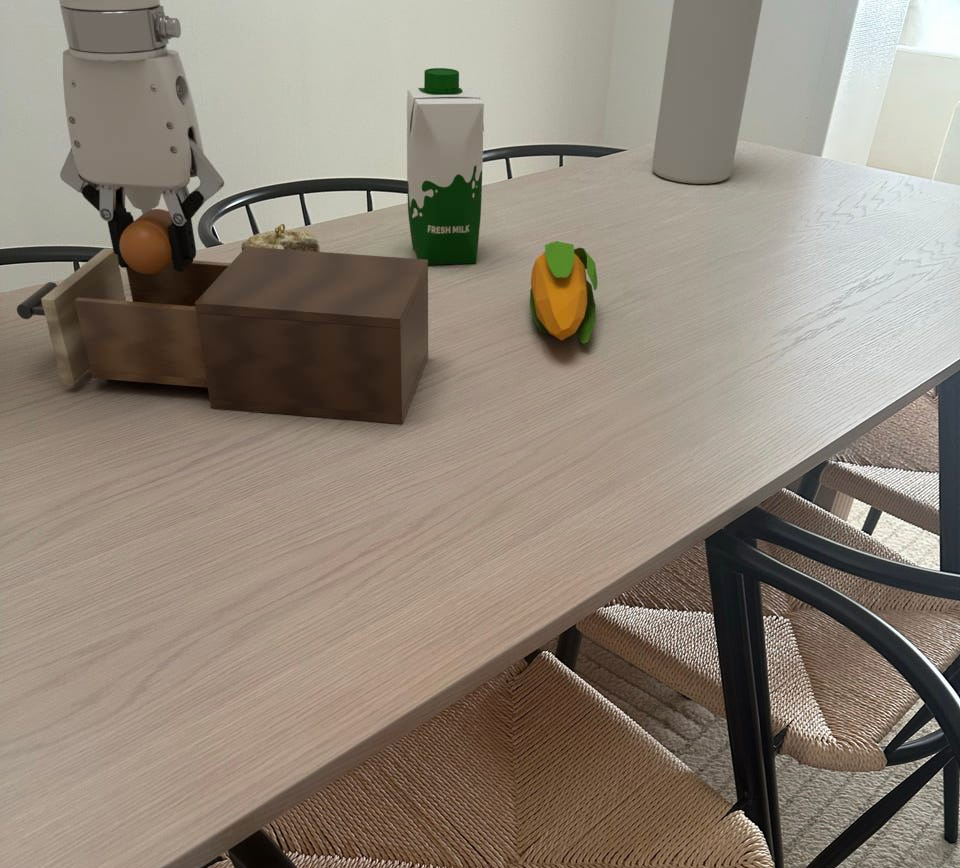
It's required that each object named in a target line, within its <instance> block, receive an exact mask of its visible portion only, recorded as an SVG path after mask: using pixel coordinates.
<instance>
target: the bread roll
mask: <svg viewBox="0 0 960 868" xmlns="http://www.w3.org/2000/svg"><path fill="white" fill-rule="evenodd" d="M170 224H172V222H171V216H170V213H169V211H168V210H167V209H162V208H153V209H152V210H149V211H147V212H145V213H144V214H143V213H142V214H141V215H140V216H139V217H137V218H136V219H135V220H134V222H132V223H131V224H130V225H129V226H127V227H126V229H125V230H124V231H123V233H122V235H121V238H120V244H119V246H120V251H121V255H122V257H123V259H124V261H125V262H126V263H127V265H128V266H129V267H131V268H132V269H133V270H135V271H137V272H139V273H142V274H155V273H158V272H160V271H162V270H163V269H164V268H166V267H167V266H168V265H169V264H170V263H171V262H172V261H173V259H172V251H171V246H170V241H169V236H168V226H169V225H170Z"/></svg>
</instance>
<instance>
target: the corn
mask: <svg viewBox="0 0 960 868" xmlns="http://www.w3.org/2000/svg"><path fill="white" fill-rule="evenodd" d="M534 261H535V262H534V263H533V265H532V266H533V267H532V269H531V277H530V290H529V291H530V292H529V307H530V312H531V313H530V314H531V316H532V319H533V321H534V323H535V325H536V327H537V328H538V329H539V330H540V331H541V332H542V333H544V334H550V335H552V336H553V337H555V338H557V339H558V340H559V341H563V340H565V339H567V338H569V337H571V336H573V335H574V334H575V333H576V332H577V335H578V338H579V341H580V342H581V343H582V344H587V343H588V342H589V340H590V338H591V335H592V332H593V329H594V326H595V324H596V302H595V296H594V291H596V290H597V289H598V275H597V268H596V262H595V260H594V259H593V258H592V256H590V254H589V253H588V251H586V249H585V248H583V247H577V248H575V245H574V244H573V243H567V242H562V241H557V240H556V241H552V242H550V243H547V244H544V252H543V253H541V254H540V255H539V256H538V257H537V258H536V259H535V260H534ZM587 276H588V277H589V278H588V279H589V280H590V282H591V283H590V282H589V280H588V279H587Z"/></svg>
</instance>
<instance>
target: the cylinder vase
mask: <svg viewBox="0 0 960 868" xmlns="http://www.w3.org/2000/svg"><path fill="white" fill-rule="evenodd" d="M762 7H763V0H673V4H672V12H671V19H670V28H669V34H668V42H667V50H666V57H665V65H664V72H663V81H662V87H661V96H660V103H659V104H660V105H659V110H658V118H657V126H656V133H655V140H654V149H653V155H652V164H651V167H652V171H653V173H655V175H657V176H658V177H660V178H663V179H665V180H669V181H672V182H675V183H676V182H677V183H681V184H682V183H683V184H692V185H706V184H707V185H710V184H717V183H721V182H723V181H725V180H727V179H729V178H730V177H731V175H732V173H733V171H732V170H733V167H734V161H735V156H736V149H737V145H738V140H739V135H740V134H739V133H740V128H741V123H742V117H743V111H744V105H745V101H746V94H747V89H748V85H749V84H748V83H749V77H750V73H751V66H752V61H753V57H754V56H753V55H754V51H755V50H754V49H755V45H756V37H757V33H758V28H759V22H760V16H761V11H762Z"/></svg>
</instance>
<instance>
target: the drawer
mask: <svg viewBox="0 0 960 868" xmlns="http://www.w3.org/2000/svg"><path fill="white" fill-rule="evenodd" d="M231 263H232V262H220V261H210V260H209V261H207V260H195V259H193V262H192V263H191V264H190V265H189V266H188V267H187V268H186V269H185V270H184V271H183V272H179V271H176V270H175V269H174V265H173V261H172V262H171V263H170V264H169V265H168V266H167V267H166V268H164V269H163V270H162V271H160V272H158V273H155V274H142V273H139V272H137V271H135V270H133V269H132V268H131V267H127V268H125V269H126V274H127V280H128V285H129V289H130V294H131V300H132V301H128V300H127V297H126V294H125V289H124V284H123V278H122V273H121V267H120V265H119V260H118V255H117V254H115V253H114V251H113V248H104V247H103V249H102V250H100V251H99V252H98V253H97V254H96V255H94V256H93V257H91V258H90V259H89V260H88V261H87V262H85V263H84V264H83V265H82V266H80V267H79V268H78V269H77V270H75V271H74V272H73V273H71V275H69V276H68V277H66V278H65V279H64V280H62V282H60V283H59V284H56V283H55V282H52V281H48V282H47V283H45V284H44V285H43V286H41V287H40V288H39V289H38V290H36V291H35V292H34V293H32V294H31V295H30V296H29V297H27V298H26V299H25V300H24V301H22V302H20V304H18V305H17V307H16V312H17V314H18V316H19V317H20V318H21V319H24V320H30V319H31V318H33V316H43V317H45V320H46V325H47V328H48V332H49V337H50V339H51V344H52V348H53V353H54V355H55V360H56V364H57V367H58V372H59V376H60V378H61V384H69V385H75V384H76V383H77V382H78V381H79V380H80V379H81V378H82V377H83V376H84V375H85V374H86V373H87V372H88V371H89V370H90V374H91V378H92V379H98V380H99V379H100V380H110V381H123V382H124V381H125V382H134V383H135V382H137V383H148V384H160V385H171V386H185V387H195V388H207V389H208V385H207V378H206V372H205V366H204V359H203V353H202V346H201V340H200V333H199V327H198V320H197V314H196V308H195V302H196V301H197V300H198V299H199V298H200V297H201V295H202V294H203V293H204V292H205V291H206V290H207V289H208V288H209V287H210V286H211V285H212V284H213V282H214V281H215V280H216V279H217V278H218V277H219V276H220V275H221V274H222V273H223V272H224V270H225V269H226V268H227V267H228V266H229V265H230V264H231Z"/></svg>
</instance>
